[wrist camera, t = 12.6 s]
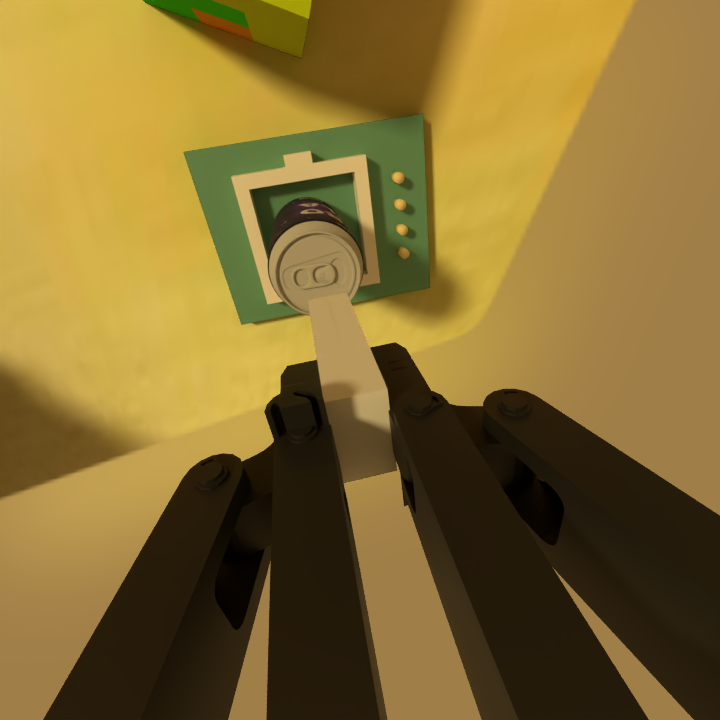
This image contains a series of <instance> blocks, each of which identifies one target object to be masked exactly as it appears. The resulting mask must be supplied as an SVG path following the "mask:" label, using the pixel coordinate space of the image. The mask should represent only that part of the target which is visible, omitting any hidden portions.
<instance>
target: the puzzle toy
mask: <svg viewBox="0 0 720 720" xmlns="http://www.w3.org/2000/svg"><path fill="white" fill-rule="evenodd" d="M143 1H144V2H145V3H148V4H151V5H154V6H156V7H159V8H162V9H165V10H168V11H170V12H173V13H176V14H179V15H182V16H184V17H187V18H190V19H193V20H196V21H198V22H201V23H204V24H207V25H210V26H212V27H215V28H218V29H221V30H224V31H226V32H229V33H232V34H235V35H238V36H240V37H243V38H246V39H249V40H252V41H254V42H257V43H260V44H263V45H266V46H268V47H271V48H274V49H277V50H279V51H282V52H285V53H288V54H291V55H293V56H296V57H299V58H302V53H303V48H304V42H305V37H306V32H307V27H308V21H309V15H310V9H311V2H312V0H143Z"/></svg>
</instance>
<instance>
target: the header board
mask: <svg viewBox="0 0 720 720" xmlns="http://www.w3.org/2000/svg"><path fill="white" fill-rule="evenodd" d="M183 153H184V155H185V158H186V161H187V164H188V167H189V170H190V173H191V176H192V179H193V182H194V185H195V188H196V191H197V194H198V197H199V200H200V203H201V206H202V209H203V212H204V215H205V218H206V221H207V224H208V227H209V230H210V233H211V236H212V239H213V242H214V245H215V248H216V250H217V253H218V256H219V259H220V262H221V265H222V268H223V271H224V274H225V277H226V280H227V283H228V286H229V289H230V292H231V295H232V298H233V301H234V304H235V307H236V310H237V313H238V316H239V319H240V322H241V325H243V324H248V323H253V322H258V321H263V320H268V319H273V318H278V317H283V316H289V315H294V314H299V313H301V312H298V311H297V310H295V309H293V308H292V307H290V306H289V305H288V304H286V303H285V302H284V301H283V300H282V299H281V298H280V297H279V296H278V295H277V294H276V292H275V290H274V289H273V287H272V285H271V282H270V279H269V275H268V256H269V250H270V244H271V237H272V231H273V225H274V221H275V218H276V216H277V214H278V212H279V211H280V210H281V209H282V207H283V206H284V205H286V204H287V203H288V202H290V201H292V200H294V199H297V198H301V197H312V198H317V199H320V200H322V201H324V202H325V203H327V204H328V205H330V206H331V207H332V208H333V209H334V210H335V212H336V213H337V215H338V216H339V217H340V219H341V220H342V222H343V223H344V224H345V226H346V227H347V229H348V230H349V231H350V233H351V234H352V236H353V237H354V239H355V240H356V241H357V243H358V245H359V247H360V249H361V252H362V255H363V261H364V273H363V278H362V281H361V284H360V287H359V288H358V290H357V292H356V294H355V296H354V297H353V299H352V300H351V301H350V302H351V303H355V302H360V301H365V300H370V299H375V298H380V297H385V296H390V295H395V294H400V293H406V292H411V291H416V290H421V289H426V288H430V274H429V250H428V225H427V201H426V176H425V152H424V128H423V114H418V115H412V116H405V117H399V118H393V119H387V120H380V121H374V122H368V123H361V124H355V125H349V126H343V127H336V128H330V129H324V130H318V131H311V132H305V133H299V134H293V135H286V136H280V137H274V138H268V139H261V140H255V141H249V142H243V143H236V144H230V145H224V146H218V147H211V148H205V149H199V150H192V151H186V152H183Z"/></svg>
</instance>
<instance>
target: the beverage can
mask: <svg viewBox="0 0 720 720" xmlns="http://www.w3.org/2000/svg"><path fill="white" fill-rule="evenodd" d="M363 273H364V261H363V255H362V252H361V249H360V247H359V245H358V243H357V241H356V240H355V239H354V237H353V236H352V234H351V233H350V231H349V230H348V229H347V227H346V226H345V224H344V223H343V222H342V220H341V219H340V217H339V216H338V215H337V213H336V212H335V210H334V209H333V208H332V207H331V206H330V205H328V204H327V203H325V202H324V201H322V200H320V199H317V198H312V197H301V198H297V199H294V200H292V201H290V202H288V203H287V204H286V205H284V206H283V207H282V209H281V210H280V211H279V212H278V214H277V216H276V218H275V221H274V225H273V231H272V237H271V244H270V250H269V256H268V275H269V279H270V282H271V285H272V287H273V289H274V290H275V292H276V294H277V295H278V296H279V297H280V298H281V299H282V300H283V301H284V302H285V303H286V304H288V305H289V306H290V307H292V308H293V309H295V310H297V311H298V312H301V313H303V314H307V315H310V312H309V305H308V300H310V299H315V298H320V297H325V296H331V295H336V294H341V293H347V295H348V297H349V300H350V301H351V300H352V299H353V297H354V296H355V294H356V292H357V290H358V288H359V287H360V284H361V281H362V278H363Z"/></svg>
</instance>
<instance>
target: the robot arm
mask: <svg viewBox="0 0 720 720" xmlns="http://www.w3.org/2000/svg"><path fill="white" fill-rule="evenodd" d="M308 305H309V312H310V318H311V324H312V331H313V337H314V343H315V350H316V356H317V360H314V361H309V362H304V363H299V364H295V365H290V366H287V367H286V369H285V370H284V372H283V373H282V375H281V393H280V394H279V395H277V396H275V397H274V398H273V399H272V400H271V401H270V402H269V403H268V404H267V406H266V409H265V415H266V418H267V421H268V423H269V426H270V429H271V432H272V435H273V438H274V442H273V443H272V444H271V445H270V446H269V447H268V448H267V449H265V450H264V451H262V452H260V453H259V454H257V455H255V456H253V457H251V458H249V459H246V460H244V461H242V462H241V459H240V458H238V457H237V456H235V455H233V454H219V455H213V456H210V457H208V458H206V459H204V460H202V461H200V462H199V463H197V464H196V465H195V466H193V467H192V468H191V469H190V470H189V471H188V472H187V474H186V475H185V476H184V478H183V479H182V481H181V482H180V484H179V486H178V488H177V489H176V491H175V493H174V495H173V496H172V498H171V500H170V501H169V503H168V505H167V506H166V508H165V510H164V512H163V514H162V515H161V517H160V519H159V520H158V522H157V524H156V526H155V527H154V529H153V531H152V533H151V534H150V536H149V538H148V539H147V541H146V543H145V545H144V546H143V548H142V550H141V551H140V553H139V555H138V557H137V558H136V560H135V562H134V564H133V565H132V567H131V569H130V571H129V572H128V574H127V576H126V577H125V580H124V581H123V583H122V584H121V586H120V588H119V590H118V591H117V593H116V595H115V597H114V598H113V600H112V602H111V603H110V605H109V607H108V609H107V610H106V612H105V614H104V616H103V618H102V619H101V621H100V623H99V624H98V626H97V628H96V629H95V631H94V633H93V635H92V636H91V638H90V640H89V642H88V643H87V645H86V647H85V648H84V650H83V652H82V654H81V655H80V658H79V659H78V661H77V662H76V664H75V666H74V668H73V669H72V671H71V673H70V674H69V676H68V678H67V680H66V681H65V683H64V685H63V686H62V688H61V690H60V692H59V693H58V695H57V697H56V699H55V700H54V702H53V704H52V705H51V707H50V709H49V711H48V712H47V714H46V716H45V718H44V719H43V720H228V718H229V714H230V710H231V706H232V703H233V699H234V695H235V691H236V688H237V683H238V680H239V676H240V673H241V669H242V665H243V661H244V658H245V654H246V650H247V646H248V642H249V639H250V635H251V631H252V628H253V624H254V620H255V616H256V612H257V609H258V605H259V601H260V597H261V594H262V590H263V586H264V582H265V579H266V575H267V571H268V567H269V564H270V560H271V571H270V609H269V646H268V684H267V720H387V715H386V710H385V704H384V699H383V693H382V688H381V682H380V677H379V671H378V666H377V660H376V655H375V650H374V644H373V639H372V633H371V628H370V623H369V617H368V611H367V606H366V600H365V595H364V589H363V584H362V578H361V573H360V568H359V562H358V557H357V551H356V546H355V540H354V535H353V529H352V524H351V518H350V513H349V508H348V502H347V498H346V493H345V489H344V484H343V483H346V482H350V481H355V480H359V479H363V478H367V477H371V476H376V475H380V474H384V473H388V472H392V471H396V470H397V466H396V462H397V464H398V467H399V470H400V474H401V481H402V490H403V500H404V506H406V505H408V506H409V508H410V512H411V514H412V517H413V520H414V523H415V526H416V529H417V532H418V535H419V538H420V541H421V544H422V547H423V549H424V552H425V555H426V558H427V561H428V564H429V567H430V570H431V573H432V576H433V579H434V582H435V585H436V587H437V590H438V593H439V596H440V599H441V602H442V605H443V608H444V610H445V614H446V617H447V620H448V622H449V625H450V628H451V631H452V634H453V637H454V640H455V643H456V646H457V648H458V651H459V654H460V658H461V660H462V663H463V666H464V669H465V672H466V675H467V678H468V681H469V684H470V687H471V689H472V693H473V695H474V698H475V701H476V704H477V707H478V710H479V713H480V716H481V719H482V720H649V719H648V718H647V716H646V715H645V713H644V712H643V710H642V708H641V707H640V705H639V704H638V702H637V700H636V699H635V697H634V696H633V694H632V693H631V691H630V690H629V688H628V686H627V685H626V683H625V682H624V680H623V679H622V677H621V675H620V674H619V672H618V670H617V669H616V667H615V666H614V664H613V663H612V661H611V659H610V658H609V656H608V655H607V653H606V651H605V650H604V648H603V647H602V645H601V644H600V642H599V640H598V639H597V637H596V636H595V634H594V633H593V631H592V629H591V628H590V626H589V625H588V623H587V621H586V620H585V618H584V617H583V615H582V614H581V612H580V610H579V609H578V608H577V606H576V604H575V602H574V601H573V599H572V598H571V596H570V595H569V593H568V591H567V590H566V588H565V587H564V585H563V583H562V582H561V581H560V579H559V577H558V575H557V574H556V572H555V571H554V569H555V570H556V571H557V573H558V574H559V575H560V576H561V577H562V578H563V579H564V580H565V581H566V582H567V583H568V584H569V585H570V587H571V588H572V589H573V590H574V591H575V592H576V593H577V594H578V595H579V596H580V597H581V598H582V599H583V601H584V602H585V603H586V604H587V605H588V606H589V607H590V608H591V609H592V610H593V611H594V612H595V614H596V615H597V616H598V617H599V618H600V619H601V620H602V621H603V622H604V623H605V624H606V625H607V626H608V627H609V629H610V630H611V631H612V632H613V633H614V634H615V635H616V636H617V637H618V638H619V639H620V640H621V642H622V643H623V644H624V645H625V646H626V647H627V648H628V649H629V650H630V651H631V652H632V653H633V655H634V656H635V657H636V658H637V659H638V660H639V661H640V662H641V663H642V664H643V665H644V666H645V667H646V669H647V670H648V671H649V672H650V673H651V674H652V675H653V676H654V677H655V678H656V679H657V680H658V681H659V683H660V684H661V685H662V686H663V687H664V688H665V689H666V690H667V691H668V692H669V693H670V694H671V695H672V696H673V698H674V699H675V700H676V701H677V702H678V703H679V704H680V705H681V706H682V707H683V708H684V709H685V711H686V712H687V713H688V714H689V715H690V716H691V717H692V718H693V719H694V720H720V516H719V515H718V514H716V513H715V512H713V511H712V510H710V509H709V508H707V507H706V506H704V505H703V504H701V503H699V502H698V501H696V500H695V499H693V498H692V497H690V496H689V495H687V494H686V493H684V492H683V491H681V490H680V489H678V488H677V487H675V486H673V485H672V484H671V483H669V482H667V481H666V480H664V479H663V478H661V477H660V476H658V475H657V474H655V473H654V472H652V471H650V470H649V469H648V468H646V467H644V466H643V465H641V464H640V463H638V462H637V461H635V460H634V459H632V458H630V457H629V456H628V455H626V454H625V453H623V452H621V451H620V450H618V449H617V448H615V447H614V446H612V445H611V444H609V443H608V442H606V441H605V440H603V439H602V438H600V437H598V436H597V435H595V434H594V433H592V432H591V431H589V430H587V429H586V428H585V427H583V426H582V425H580V424H579V423H577V422H575V421H574V420H572V419H571V418H569V417H568V416H566V415H565V414H563V413H562V412H560V411H558V410H557V409H556V408H554V407H553V406H551V405H549V404H548V403H546V402H545V401H543V400H542V399H540V398H539V397H537V396H535V395H533V394H531V393H529V392H526V391H522V390H518V389H502V390H498V391H494V392H492V393H491V394H489V395H488V396H487V397H486V398H485V400H484V402H483V406H456V405H452V404H449V403H448V401H447V400H446V399H445V398H444V397H443V396H442V395H440V394H438V393H436V392H433V391H431V390H430V388H429V386H428V385H427V383H426V381H425V380H424V378H423V376H422V375H421V373H420V371H419V370H418V368H417V366H416V365H415V363H414V361H413V360H412V359H411V356H410V355H409V353H408V351H407V350H406V348H404V347H402V346H401V345H399V344H397V343H390V344H385V345H381V346H376V347H371V348H370V347H369V344H368V342H367V340H366V337H365V335H364V333H363V330H362V328H361V326H360V323H359V321H358V318H357V316H356V314H355V311H354V309H353V307H352V304H351V302H350V300H349V297H348V295H347V293H341V294H336V295H331V296H325V297H320V298H315V299H310V300H308ZM552 567H553V568H554V569H553V568H552Z"/></svg>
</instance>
